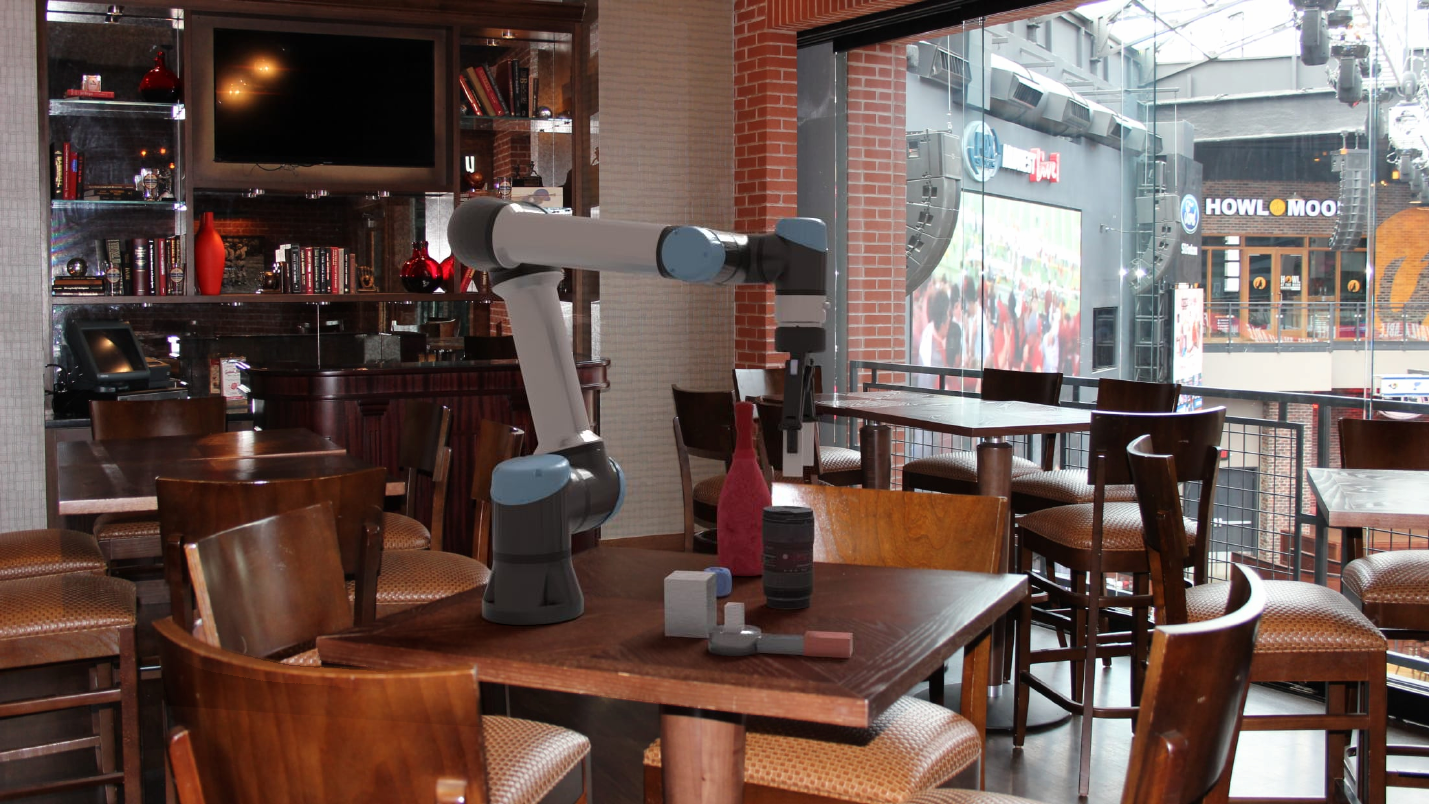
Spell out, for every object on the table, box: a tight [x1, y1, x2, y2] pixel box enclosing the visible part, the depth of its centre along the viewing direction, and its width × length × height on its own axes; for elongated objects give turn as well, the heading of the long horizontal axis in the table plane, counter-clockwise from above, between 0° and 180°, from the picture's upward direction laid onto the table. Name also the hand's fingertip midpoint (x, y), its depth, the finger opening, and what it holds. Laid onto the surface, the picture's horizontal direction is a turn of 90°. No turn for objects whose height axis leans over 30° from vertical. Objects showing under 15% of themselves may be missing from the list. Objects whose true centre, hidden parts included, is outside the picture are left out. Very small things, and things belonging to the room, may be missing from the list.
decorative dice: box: [702, 566, 733, 597], centre depth 197 cm, size 4×4×4 cm
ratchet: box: [707, 601, 854, 659], centre depth 162 cm, size 19×7×6 cm, turn 77°
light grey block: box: [663, 570, 718, 639], centre depth 172 cm, size 6×6×8 cm
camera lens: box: [761, 505, 816, 610], centre depth 189 cm, size 8×8×15 cm
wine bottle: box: [716, 400, 773, 577], centre depth 214 cm, size 10×10×30 cm
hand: (798, 470), depth 180 cm, fingers open, 13 cm apart
